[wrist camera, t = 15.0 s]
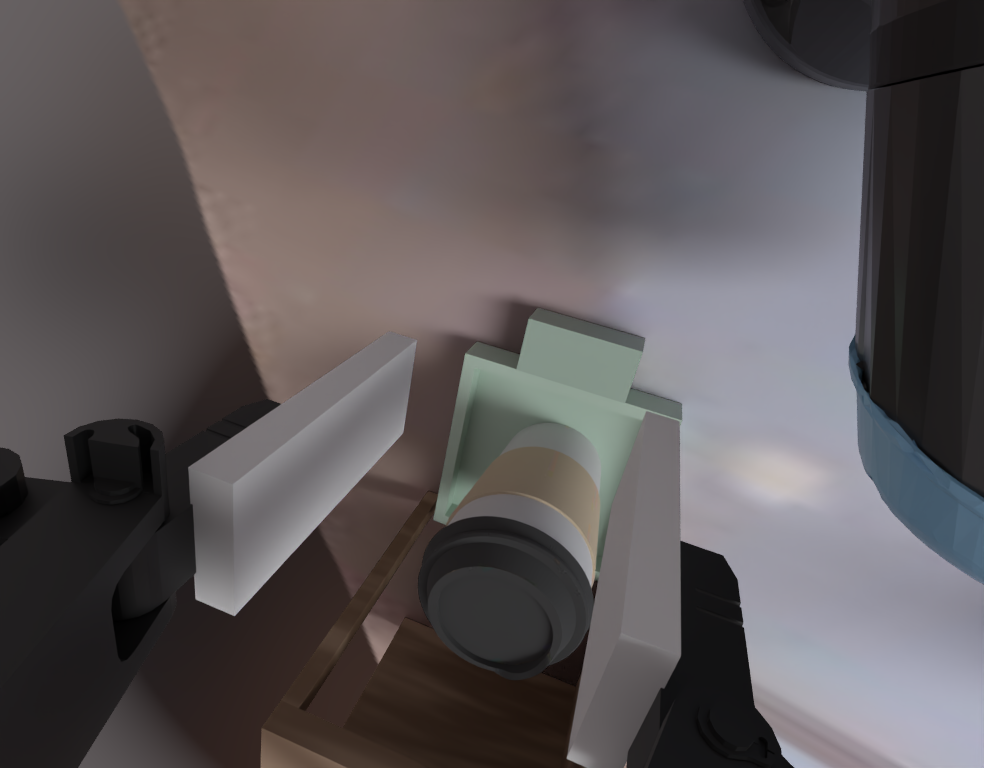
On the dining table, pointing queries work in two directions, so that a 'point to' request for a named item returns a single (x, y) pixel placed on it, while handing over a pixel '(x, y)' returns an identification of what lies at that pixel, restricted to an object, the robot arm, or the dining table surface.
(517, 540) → the coffee cup
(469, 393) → the tray
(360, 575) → the dining table surface
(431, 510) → the hollow wooden crate
